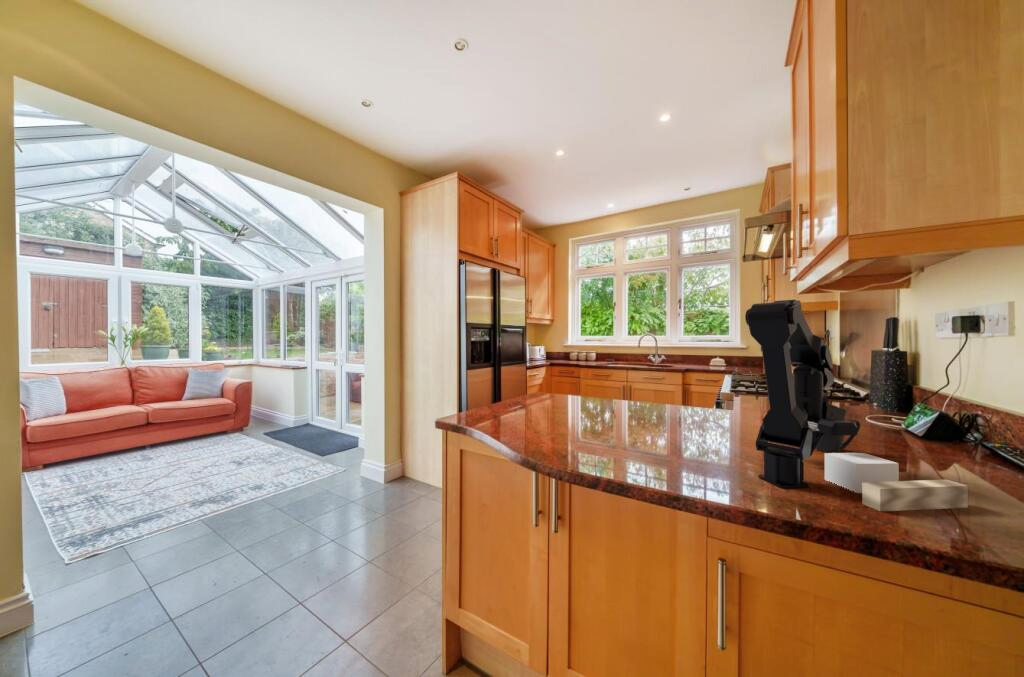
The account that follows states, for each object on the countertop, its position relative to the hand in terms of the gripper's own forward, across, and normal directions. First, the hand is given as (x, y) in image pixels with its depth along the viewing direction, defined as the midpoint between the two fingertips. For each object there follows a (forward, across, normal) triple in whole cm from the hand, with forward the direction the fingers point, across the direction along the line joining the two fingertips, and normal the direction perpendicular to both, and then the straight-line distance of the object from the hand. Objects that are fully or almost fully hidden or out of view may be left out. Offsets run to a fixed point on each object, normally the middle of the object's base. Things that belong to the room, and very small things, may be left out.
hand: (808, 455), depth 88 cm
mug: (+3, +11, -19) cm, 22 cm away
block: (+3, -12, 0) cm, 12 cm away
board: (+2, -22, 0) cm, 22 cm away
